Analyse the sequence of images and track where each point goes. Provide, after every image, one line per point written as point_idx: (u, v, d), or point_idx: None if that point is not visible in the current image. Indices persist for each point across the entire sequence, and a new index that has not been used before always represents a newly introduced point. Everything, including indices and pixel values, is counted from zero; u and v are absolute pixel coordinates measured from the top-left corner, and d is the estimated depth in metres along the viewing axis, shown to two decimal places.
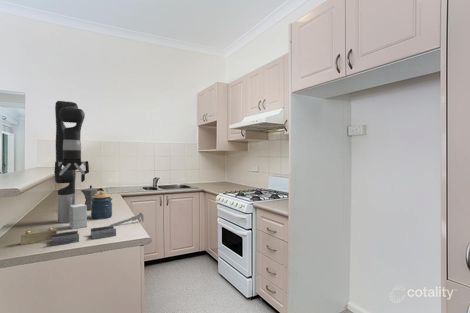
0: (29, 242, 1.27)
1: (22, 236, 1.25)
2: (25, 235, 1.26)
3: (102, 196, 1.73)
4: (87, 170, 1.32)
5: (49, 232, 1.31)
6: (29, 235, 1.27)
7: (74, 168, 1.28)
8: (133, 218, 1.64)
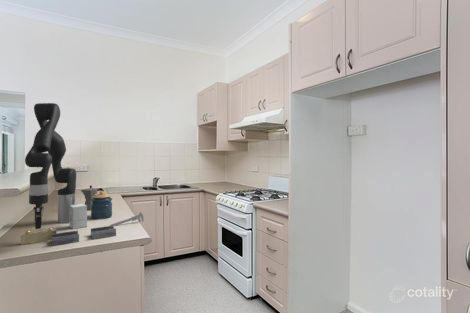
0: (29, 242, 1.27)
1: (22, 236, 1.25)
2: (25, 235, 1.26)
3: (102, 196, 1.73)
4: None
5: (49, 232, 1.31)
6: (29, 235, 1.27)
7: None
8: (133, 218, 1.64)
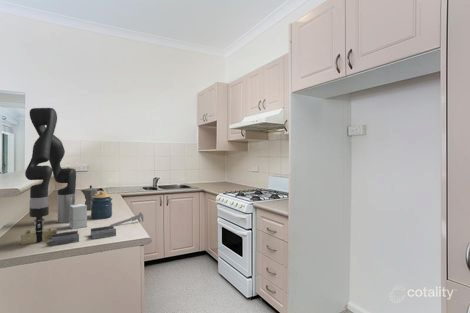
0: (29, 242, 1.27)
1: (22, 236, 1.25)
2: (25, 235, 1.26)
3: (102, 196, 1.73)
4: None
5: (49, 232, 1.31)
6: (29, 235, 1.27)
7: (41, 223, 1.31)
8: (133, 218, 1.64)
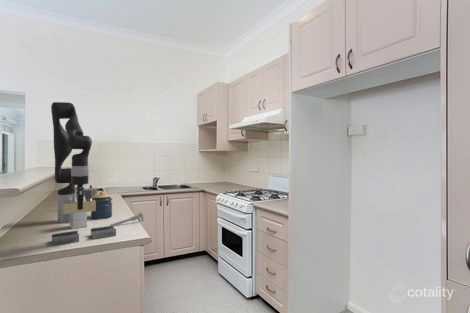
0: (71, 211, 1.31)
1: (65, 205, 1.29)
2: (67, 204, 1.30)
3: (102, 196, 1.73)
4: None
5: (89, 203, 1.35)
6: (71, 204, 1.30)
7: None
8: (133, 218, 1.64)
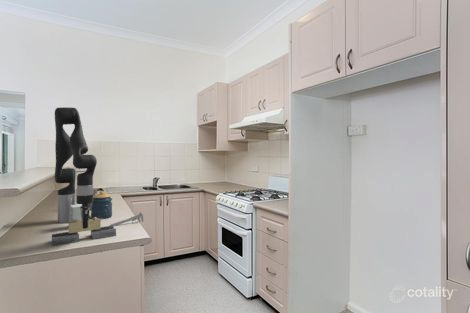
0: (76, 230, 1.32)
1: (70, 224, 1.30)
2: (73, 223, 1.31)
3: (102, 196, 1.73)
4: None
5: (94, 221, 1.36)
6: (76, 224, 1.32)
7: None
8: (133, 218, 1.64)
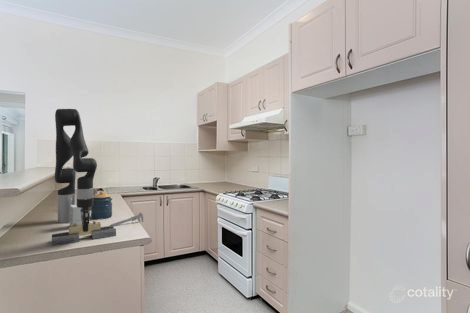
0: None
1: (70, 228, 1.30)
2: (73, 228, 1.31)
3: (102, 196, 1.73)
4: None
5: (94, 225, 1.36)
6: (76, 228, 1.32)
7: None
8: (133, 218, 1.64)
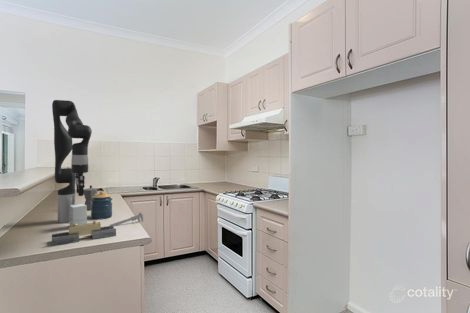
0: None
1: (70, 228, 1.30)
2: (73, 228, 1.31)
3: (102, 196, 1.73)
4: None
5: (94, 225, 1.36)
6: (76, 228, 1.32)
7: None
8: (133, 218, 1.64)
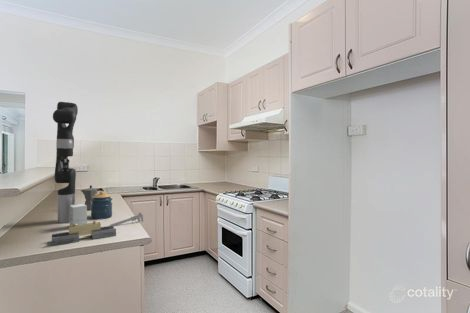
0: None
1: (70, 228, 1.30)
2: (73, 228, 1.31)
3: (102, 196, 1.73)
4: None
5: (94, 225, 1.36)
6: (76, 228, 1.32)
7: None
8: (133, 218, 1.64)
